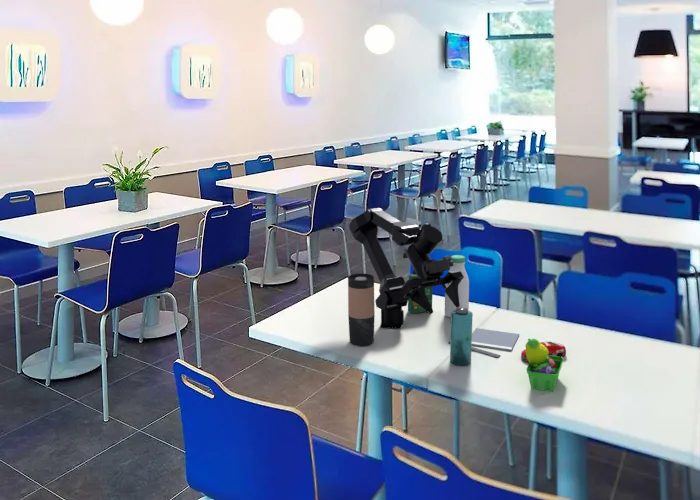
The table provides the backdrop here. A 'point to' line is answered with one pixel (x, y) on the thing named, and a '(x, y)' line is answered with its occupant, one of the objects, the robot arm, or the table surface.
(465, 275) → the milk bottle
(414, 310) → the coffee box
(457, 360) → the bottle
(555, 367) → the fruit basket
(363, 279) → the travel mug
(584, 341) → the table surface
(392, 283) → the robot arm
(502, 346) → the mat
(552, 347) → the race car
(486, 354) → the line
